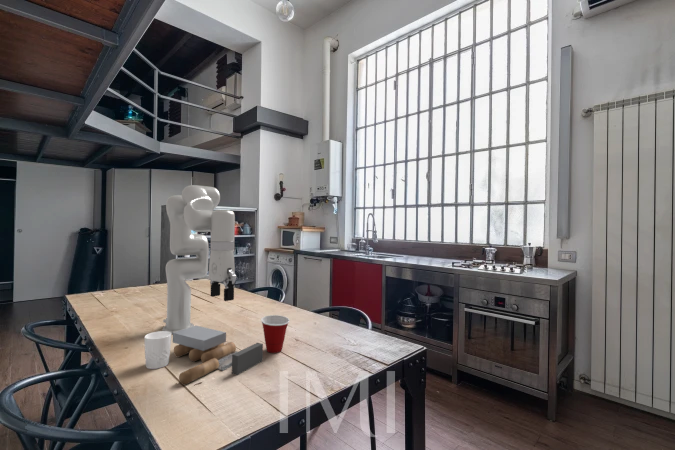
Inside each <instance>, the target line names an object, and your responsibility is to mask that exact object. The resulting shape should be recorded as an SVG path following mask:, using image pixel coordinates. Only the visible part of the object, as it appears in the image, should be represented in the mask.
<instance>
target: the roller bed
mask: <svg viewBox="0 0 675 450" xmlns="http://www.w3.org/2000/svg"><path fill="white" fill-rule="evenodd" d="M224 343H225V342H224ZM224 343H222V344H219V345H217V346H215V347H212V348H210V349H207V350H205V351H202V350H198V349H195V348H191V347H187V346H184V345H180V344H177V345H175V346H174V348H173V354H174V356H175V357H176V358H179V357H180V358H181V357H182V356H185V355H187V354H188V357H189V360H190V361H191V362H193V363H194V362H198V361H199V360H200V361H201V364H202V363H204V362H206V361H209V360H211V359H213V358H216V359H220V358H222V357H224V356H226V355H228V354H230V353H233V352H235V351H237V346H236V344H235V343H234V342H232V341H230V342H228V343H225V344H224Z"/></svg>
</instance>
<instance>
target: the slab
mask: <svg viewBox="0 0 675 450" xmlns="http://www.w3.org/2000/svg"><path fill="white" fill-rule="evenodd" d="M226 342H227V332H226V331H223V330H217V329H213V328H209V327H205V326H199V325H194V326H193V327H190V328H187V329H183V330H180V331H177V332H174V333H172V343H174V344H177V345H179V344H180V345H184V346H187V347H191V348H195V349H198V350H202V351H205V350H207V349H210V348H212V347H215V346H217V345H219V344H222V343H226Z"/></svg>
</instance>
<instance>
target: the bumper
mask: <svg viewBox="0 0 675 450" xmlns="http://www.w3.org/2000/svg"><path fill="white" fill-rule="evenodd" d="M263 349H264V344H263V343H260V342H256V343H254V344H252V345H250V346H247V347H245V348H243V349H241V350H239V351H237V353H234V354H232V366H231V374H232V375H236V376H238V375H240V374H242V373H244V372H246V371H248V370H250V369H251V368H253V367H255V366H257V365H258V364H260V363H262V362H263V357H264V356H263V355H264V354H263V353H264V352H263V351H264V350H263Z"/></svg>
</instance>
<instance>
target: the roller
mask: <svg viewBox="0 0 675 450" xmlns="http://www.w3.org/2000/svg"><path fill="white" fill-rule="evenodd" d="M218 368H219V361H218V360H217V359H216V358H213V359H211V360H209V361H206V362H204V363H202V362H201V363H200V364H198V365H195V366H194V367H191V368H189V369H187V370H185V371H183V372H181V373H180V374H179V375H178V380H179V383H180V384H181V385H183V386H185V385H189V384H190V383H191V382H194V381H196V380H197V379H200V378H201V377H204V376H205V375H208V374H210V373H212V372H214V371H216V370H219V369H218Z"/></svg>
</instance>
